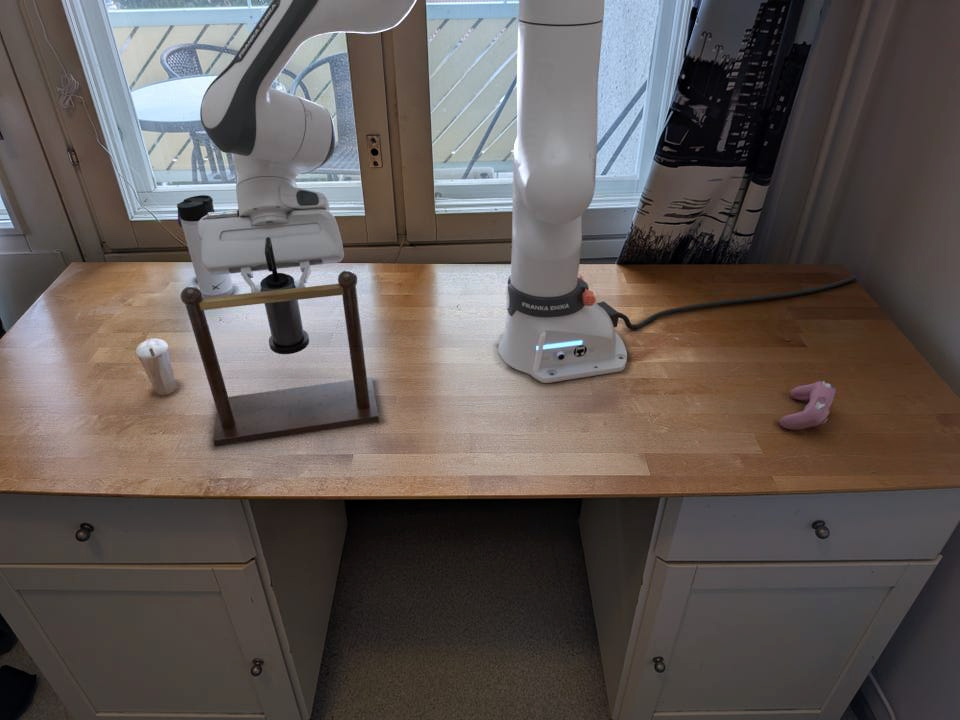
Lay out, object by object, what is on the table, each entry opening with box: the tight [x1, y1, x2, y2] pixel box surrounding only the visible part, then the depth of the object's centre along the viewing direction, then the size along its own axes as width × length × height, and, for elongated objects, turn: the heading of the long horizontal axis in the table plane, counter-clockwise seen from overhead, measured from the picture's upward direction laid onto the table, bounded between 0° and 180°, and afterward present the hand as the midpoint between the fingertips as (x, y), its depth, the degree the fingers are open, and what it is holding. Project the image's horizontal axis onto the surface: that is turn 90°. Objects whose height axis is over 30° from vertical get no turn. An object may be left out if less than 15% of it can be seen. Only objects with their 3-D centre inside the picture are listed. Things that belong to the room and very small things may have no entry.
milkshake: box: [135, 337, 178, 396], centre depth 102 cm, size 4×5×10 cm
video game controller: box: [779, 380, 837, 431], centre depth 100 cm, size 10×5×7 cm, turn 148°
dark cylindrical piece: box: [259, 237, 310, 355], centre depth 95 cm, size 8×6×18 cm
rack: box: [180, 269, 380, 447], centre depth 94 cm, size 10×24×25 cm, turn 104°
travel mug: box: [176, 194, 235, 298], centre depth 125 cm, size 6×7×20 cm
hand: (279, 296), depth 96 cm, fingers closed on dark cylindrical piece, 5 cm apart
